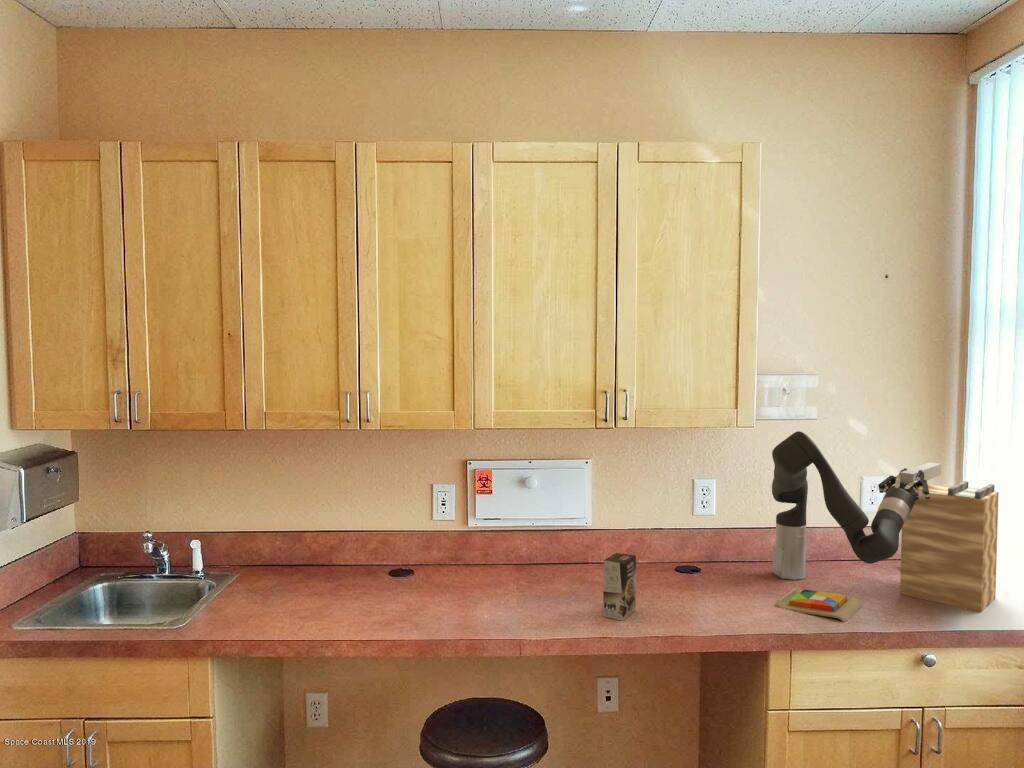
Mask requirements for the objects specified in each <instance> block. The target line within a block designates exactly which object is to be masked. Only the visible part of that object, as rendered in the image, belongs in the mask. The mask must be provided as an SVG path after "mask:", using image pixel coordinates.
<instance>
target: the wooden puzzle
mask: <svg viewBox="0 0 1024 768" xmlns="http://www.w3.org/2000/svg"><path fill="white" fill-rule="evenodd" d="M776 603H777V604H776V605H777V607H779V608H780V607H782V608H781V609H784V608H786V609H785V610H788V609H790V610H789V611H792V610H795V611H794V612H797V611H799V612H798V613H801V612H804V613H803V614H807V613H808V615H809V614H810V615H814V616H821V617H828V618H834V619H838V620H841V622H843V623H846V622H848V619H849V620H850V619H851V618H852V617H853V616H854V615H855V614H856V613H857V612H858V611H859V610H860V609H861V608H863V607H862V605H863V603H862V601H860V600H859V599H858V598H854V597H848V595H847V594H840V593H834V592H833V593H831V592H826V591H824V592H823V591H818V590H812V589H800V588H799V587H795V588H793V589H792V590H790V591H789V592H787V593H786V594H785V595H783V596H781V597H780V599H778V600H777V602H776ZM856 611H857V612H856ZM855 612H856V613H855ZM854 613H855V614H854ZM853 614H854V615H853ZM850 617H851V618H850Z"/></svg>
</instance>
